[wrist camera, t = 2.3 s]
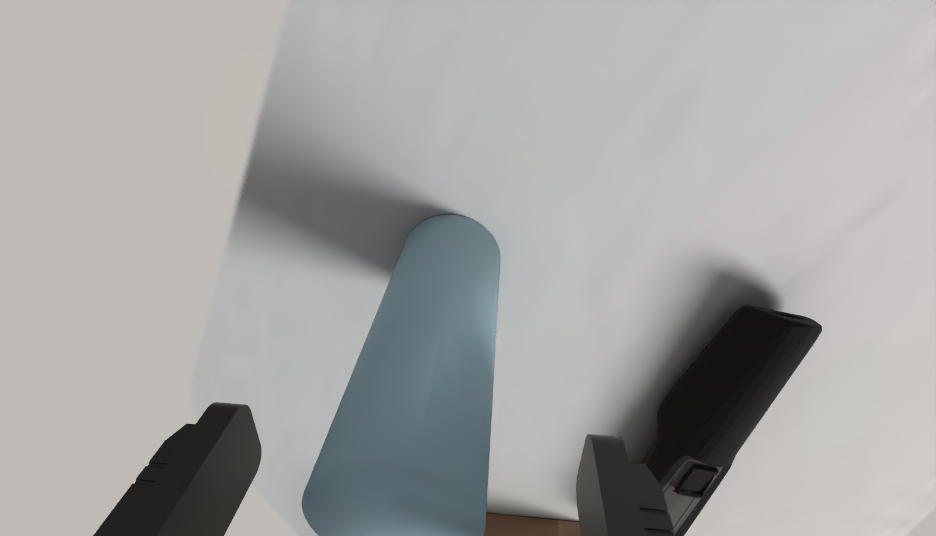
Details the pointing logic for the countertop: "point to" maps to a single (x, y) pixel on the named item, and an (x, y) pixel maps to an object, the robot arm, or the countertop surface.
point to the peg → (418, 397)
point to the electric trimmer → (723, 404)
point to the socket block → (528, 526)
